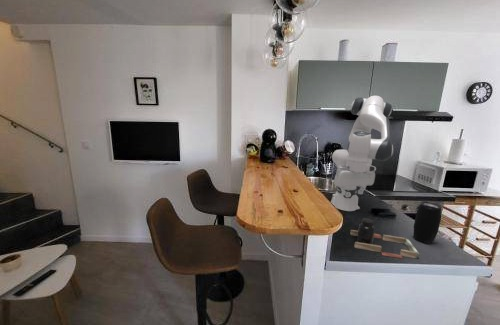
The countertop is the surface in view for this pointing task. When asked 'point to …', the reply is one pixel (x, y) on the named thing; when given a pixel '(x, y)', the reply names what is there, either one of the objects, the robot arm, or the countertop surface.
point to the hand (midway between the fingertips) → (352, 194)
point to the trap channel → (412, 253)
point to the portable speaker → (427, 222)
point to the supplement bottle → (366, 231)
